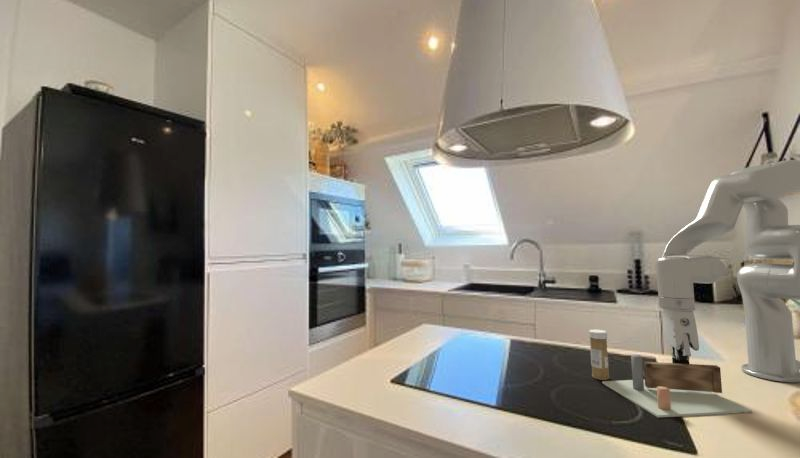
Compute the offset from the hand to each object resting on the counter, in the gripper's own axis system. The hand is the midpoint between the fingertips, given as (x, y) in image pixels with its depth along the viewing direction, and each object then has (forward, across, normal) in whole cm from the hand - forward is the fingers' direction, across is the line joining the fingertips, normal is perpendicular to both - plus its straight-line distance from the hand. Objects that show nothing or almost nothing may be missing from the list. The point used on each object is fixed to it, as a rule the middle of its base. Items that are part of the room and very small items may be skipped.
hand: (681, 373), depth 93 cm
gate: (+3, -3, +1) cm, 5 cm away
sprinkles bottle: (+4, +4, +18) cm, 19 cm away
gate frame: (+4, -6, +5) cm, 8 cm away
